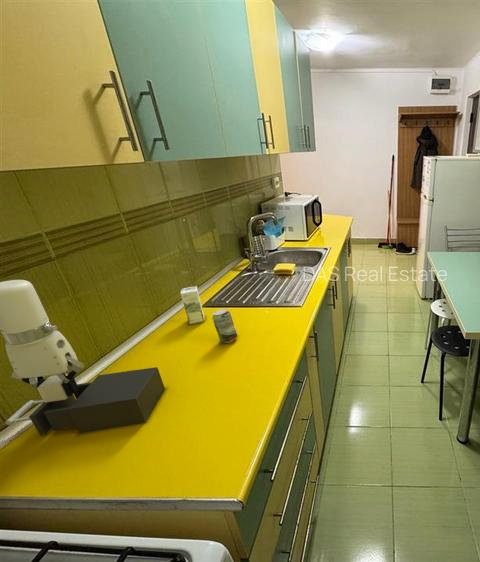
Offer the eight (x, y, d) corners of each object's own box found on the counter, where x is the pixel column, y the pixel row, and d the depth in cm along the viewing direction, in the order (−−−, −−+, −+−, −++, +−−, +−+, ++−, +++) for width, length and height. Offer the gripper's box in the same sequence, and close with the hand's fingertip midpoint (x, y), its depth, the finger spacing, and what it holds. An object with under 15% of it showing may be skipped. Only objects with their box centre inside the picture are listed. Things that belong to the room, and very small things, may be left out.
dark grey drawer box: (79, 433, 76) (66, 409, 73) (108, 397, 87) (98, 375, 84) (145, 422, 79) (135, 398, 75) (165, 389, 90) (157, 366, 87)
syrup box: (204, 315, 131) (196, 285, 126) (204, 322, 127) (196, 290, 121) (189, 319, 129) (180, 288, 123) (189, 325, 124) (180, 293, 119)
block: (44, 402, 75) (36, 388, 73) (57, 390, 79) (50, 376, 77) (65, 399, 76) (58, 385, 74) (77, 387, 80) (71, 373, 78)
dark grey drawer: (4, 441, 73) (-9, 422, 70) (40, 406, 83) (30, 388, 81) (103, 425, 77) (94, 406, 74) (127, 393, 87) (119, 376, 85)
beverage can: (229, 346, 110) (222, 317, 105) (213, 342, 112) (206, 314, 108) (242, 337, 115) (236, 309, 111) (226, 333, 118) (220, 306, 113)
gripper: (82, 320, 75) (107, 379, 82) (-1, 328, 72) (32, 389, 79) (61, 336, 69) (90, 399, 76) (-32, 346, 65) (7, 411, 72)
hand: (60, 393), depth 77 cm, fingers closed on block, 4 cm apart
